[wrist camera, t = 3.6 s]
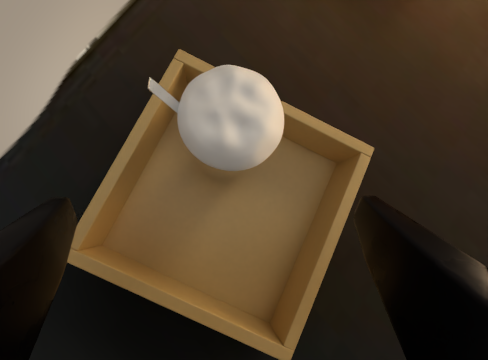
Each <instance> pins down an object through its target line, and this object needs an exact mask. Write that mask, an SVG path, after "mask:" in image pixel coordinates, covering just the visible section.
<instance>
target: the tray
mask: <svg viewBox="0 0 488 360" xmlns="http://www.w3.org/2000/svg"><path fill="white" fill-rule="evenodd" d="M213 68H216V67H214V66H212V65H210V64H208V63H206V62H204V61H202V60H200V59H198V58H196V57H194V56H192V55H190V54H188V53H186V52H184V51H182V50H180V49H179V50H178V51H177V53H176V55H175V57H174V59H173V60H172V62H171V63H170V65H169V67H168V69H167V70H166V72H165V74H164V76H163V77H162V79H161V81H160V83H159V85H160V86H162V87H163V88H164V89H165V90H166V91H167V92H168V93H169V94H171V95H172V96H173V97H174V98H175V99H176V100H177V101H178V102H180V99H181V97H182V94H183V92H184V90H185V89H186V87H187V86H188V84H189V83H190V82H191V81H192V80H193V79H194V78H195V77H197V76H198V75H200V74H202V73H204V72H207V71H209V70H211V69H213ZM280 101H281V100H280ZM281 104H282V107H283V112H284V129H283V134H282V138H281V140H280V143H279V144H278V146H277V148H276V149H275V150H274V151H273V153H272V154H271V155H270V156H269V157H268V158H267V159H266V160H265V161H263V162H262V163H261V164H259V165H257V166H255V167H253V168H250V169H248V170H246V171H244V172H243V173H241V174H239V175H237V176H235V177H233V178H231V179H230V180H228V181H225V180H219V179H212V178H211V177H210V176H209V175H208V174H207V173H206V172H205V171H204V170H203V169H202V168H201V167H200V165H199V163H198V162H197V160H196V158H195V157H194V156H193V154H192V153H191V152H190V151H189V149H188V148H187V147H186V145H185V144H184V142H183V140H182V138H181V136H180V133H179V129H178V121H177V113H176V112H175V111H174V110H173V109H172V108H170V107H169V106H168V105H167V104H165V103H164V102H163V101H162V100H160V99H159V98H158V97H157V96H156V95H154V94H153V95H152V96H151V98H150V100H149V102H148V103H147V105H146V107H145V109H144V110H143V112H142V114H141V116H140V117H139V119H138V121H137V122H136V124H135V126H134V128H133V129H132V131H131V133H130V135H129V136H128V138H127V140H126V142H125V143H124V145H123V147H122V149H121V150H120V152H119V154H118V155H117V157H116V159H115V161H114V162H113V164H112V166H111V168H110V169H109V171H108V173H107V175H106V176H105V178H104V180H103V181H102V183H101V185H100V187H99V188H98V190H97V192H96V194H95V195H94V197H93V199H92V201H91V202H90V204H89V206H88V208H87V209H86V211H85V213H84V214H83V216H82V218H81V220H80V221H79V223H78V225H77V227H76V230H75V234H74V238H73V241H72V245H71V249H70V252H69V256H68V260H67V262H68V263H70V264H72V265H74V266H76V267H79V268H81V269H83V270H85V271H87V272H89V273H92V274H94V275H96V276H98V277H100V278H103V279H105V280H107V281H109V282H111V283H113V284H116V285H118V286H120V287H122V288H124V289H127V290H129V291H131V292H133V293H135V294H137V295H140V296H142V297H144V298H146V299H148V300H151V301H153V302H155V303H157V304H159V305H161V306H164V307H166V308H168V309H170V310H172V311H175V312H177V313H179V314H181V315H183V316H185V317H188V318H190V319H192V320H194V321H196V322H198V323H201V324H203V325H205V326H207V327H209V328H212V329H214V330H216V331H218V332H220V333H222V334H225V335H227V336H229V337H231V338H233V339H236V340H238V341H240V342H242V343H244V344H246V345H249V346H251V347H253V348H255V349H257V350H260V351H262V352H264V353H266V354H268V355H270V356H273V357H275V358H277V359H279V360H291V358H292V355H293V353H294V350H295V348H296V345H297V343H298V340H299V338H300V335H301V333H302V330H303V328H304V325H305V323H306V320H307V318H308V315H309V313H310V310H311V307H312V305H313V302H314V300H315V297H316V295H317V292H318V290H319V287H320V285H321V282H322V280H323V277H324V275H325V272H326V270H327V267H328V265H329V262H330V260H331V257H332V255H333V252H334V249H335V247H336V244H337V242H338V239H339V237H340V234H341V232H342V229H343V227H344V224H345V222H346V219H347V217H348V214H349V212H350V209H351V207H352V204H353V202H354V199H355V197H356V194H357V191H358V189H359V186H360V184H361V181H362V179H363V176H364V174H365V171H366V169H367V166H368V164H369V161H370V159H371V158H370V157H371V156H372V153H373V150H374V148H373V147H371V146H369V145H367V144H365V143H363V142H361V141H359V140H358V139H356V138H354V137H352V136H350V135H348V134H346V133H344V132H342V131H340V130H338V129H336V128H334V127H332V126H330V125H328V124H326V123H324V122H322V121H320V120H318V119H316V118H314V117H312V116H310V115H308V114H306V113H304V112H302V111H300V110H298V109H296V108H294V107H292V106H291V105H289V104H287V103H285V102H283V101H281Z"/></svg>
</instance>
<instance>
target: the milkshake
mask: <svg viewBox="0 0 488 360" xmlns="http://www.w3.org/2000/svg"><path fill="white" fill-rule="evenodd" d="M148 90H149V91H151V92H152V93H153V94H154V95H156V96H157V97H158V98H159V99H160V100H162V101H163V102H164V103H165V104H167V105H168V106H169V107H170V108H172V109H173V110H174V111H175V112H176V113H177V121H178V129H179V133H180V136H181V138H182V140H183V142H184V144H185V145H186V147H187V148H188V149H189V151H190V152H191V153H192V154H193V156H194V157H195V158H196V160H197V162H198V163H199V165H200V167H201V168H202V169H203V170H204V171H205V172H206V173H207V174H208V175H209V176H210V177H211V178H212V179H219V180H225V181H228V180H230V179H231V178H233V177H235V176H237V175H239V174H241V173H243V172H244V171H246V170H248V169H250V168H253V167H255V166H257V165H259V164H261V163H262V162H263V161H265V160H266V159H267V158H268V157H269V156H270V155H271V154H272V153H273V151H274V150H275V149H276V148H277V146H278V144H279V143H280V140H281V138H282V134H283V129H284V112H283V107H282V104H281V101H280V99H279V97H278V95H277V93H276V91H275V89H274V88H273V86H272V85H271V83H270V82H269V81H268V80H267V79H266V78H265V77H263V76H262V75H260V74H259V73H257V72H254V71H252V70H249V69H246V68H242V67H238V66H234V65H222V66H218V67H216V68H213V69H211V70H209V71H207V72H204V73H202V74H200V75H198V76H197V77H195V78H194V79H193V80H192V81H191V82H190V83H189V84H188V86H187V87H186V89H185V90H184V92H183V94H182V97H181V99H180V102H178V101H177V100H176V99H175V98H174V97H173V96H172V95H171V94H169V93H168V92H167V91H166V90H165V89H164V88H163V87H162V86H160V85H159V84H158V83H157V82H156V81H155V80H154V79H153V78H151V77H150V78H149V82H148Z"/></svg>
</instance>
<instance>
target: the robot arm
mask: <svg viewBox="0 0 488 360" xmlns="http://www.w3.org/2000/svg"><path fill="white" fill-rule="evenodd" d="M354 223H355V227H356V230H357V234H358V237H359V240H360V244H361V247H362V251H363V254H364V257H365V260H366V263H367V266H368V268H369V271H370V273H371V275H372V278H373V280H374V283H375V285H376V287H377V290H378V292H379V295H380V297H381V299H382V302H383V304H384V307H385V309H386V311H387V314H388V316H389V319H390V321H391V323H392V326H393V328H394V330H395V333H396V335H397V338H398V340H399V342H400V345H401V347H402V350H403V352H404V354H405V357H406V359H407V360H488V268H486V266H485V265H483V264H482V263H480V262H478V261H477V260H475V259H474V258H472V257H471V256H469V255H467V254H466V253H464V252H463V251H461V250H459V249H458V248H456V247H455V246H453V245H452V244H450V243H448V242H447V241H445V240H444V239H442V238H441V237H439V236H437V235H436V234H434V233H433V232H431V231H430V230H428V229H426V228H425V227H423V226H422V225H420V224H418V223H417V222H415V221H414V220H412V219H411V218H409V217H407V216H406V215H404V214H403V213H401V212H400V211H398V210H396V209H395V208H393V207H392V206H390V205H388V204H387V203H385V202H384V201H382V200H381V199H379V198H377V197H376V196H363V197H362V198H361V199H360V201H359V203H358V206H357V208H356V210H355V213H354ZM76 227H77V217H76V214H75V211H74V209H73V206H72V204H71V201H70V200H69V198H66V197H53V198H50V199H49V200H47V201H45V202H44V203H42V204H41V205H39V206H37V207H36V208H34V209H33V210H31V211H30V212H28V213H26V214H25V215H23V216H22V217H20V218H18V219H17V220H15V221H14V222H12V223H11V224H9V225H7V226H6V227H4V228H3V229H1V230H0V360H29V358H30V355H31V353H32V350H33V348H34V345H35V343H36V340H37V338H38V336H39V333H40V331H41V328H42V326H43V323H44V321H45V318H46V316H47V313H48V311H49V308H50V306H51V303H52V301H53V298H54V296H55V293H56V291H57V289H58V286H59V284H60V281H61V279H62V276H63V273H64V270H65V267H66V264H67V260H68V256H69V252H70V249H71V245H72V241H73V238H74V234H75V230H76Z"/></svg>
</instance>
